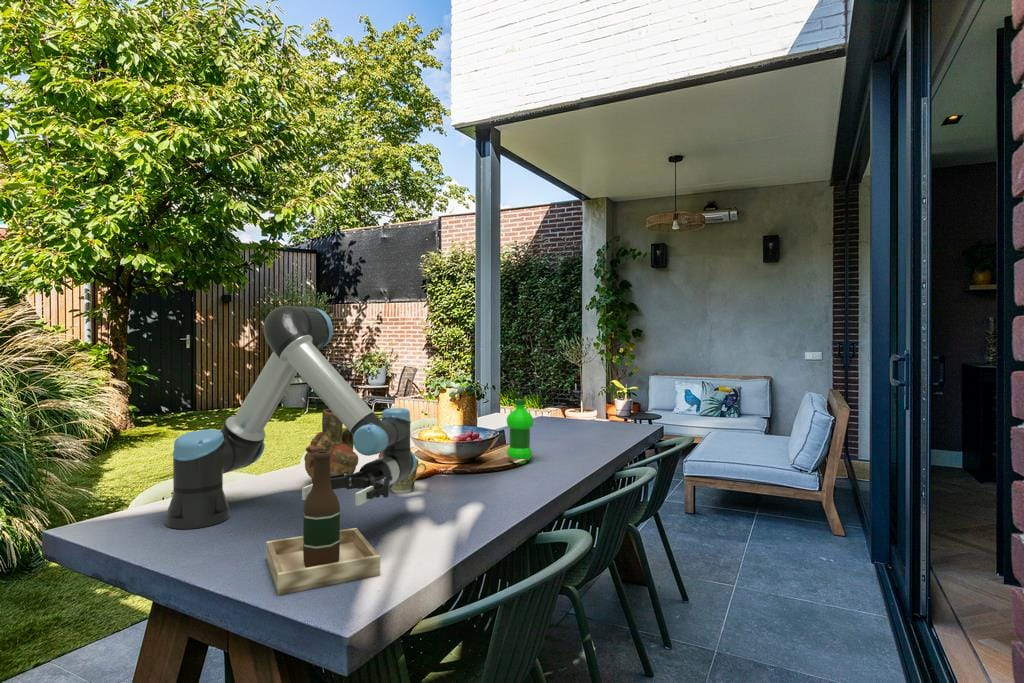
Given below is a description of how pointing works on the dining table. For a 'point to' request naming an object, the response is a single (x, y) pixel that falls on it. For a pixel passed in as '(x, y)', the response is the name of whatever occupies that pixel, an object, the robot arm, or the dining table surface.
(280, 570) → the oak tray
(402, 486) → the ceramic cup
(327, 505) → the beer bottle
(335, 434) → the ceramic vessel
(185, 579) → the dining table surface
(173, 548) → the dining table surface
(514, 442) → the plastic bottle
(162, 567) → the dining table surface
